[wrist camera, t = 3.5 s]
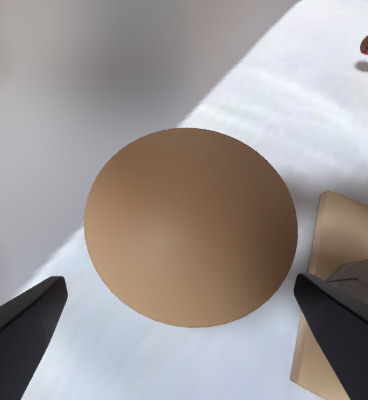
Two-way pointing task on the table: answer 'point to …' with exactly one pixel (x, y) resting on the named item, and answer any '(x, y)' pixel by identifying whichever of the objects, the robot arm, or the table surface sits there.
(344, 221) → the ringed base plate
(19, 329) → the robot arm
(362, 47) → the toy figure
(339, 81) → the table surface
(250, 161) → the plug
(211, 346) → the table surface
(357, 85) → the table surface
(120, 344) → the table surface
